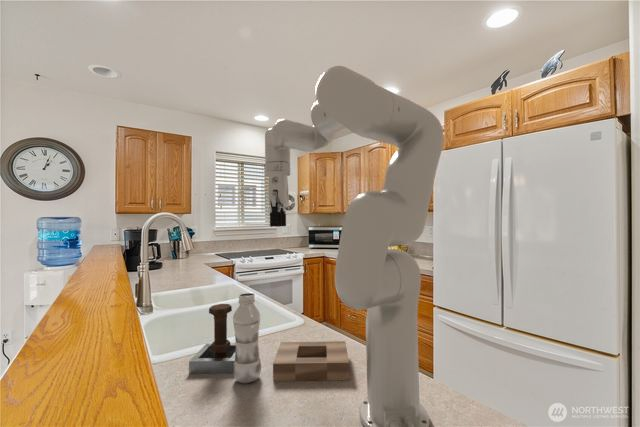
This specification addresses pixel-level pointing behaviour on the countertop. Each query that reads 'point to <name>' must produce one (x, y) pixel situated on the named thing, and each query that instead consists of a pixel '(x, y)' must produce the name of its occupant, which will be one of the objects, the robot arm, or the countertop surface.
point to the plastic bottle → (246, 340)
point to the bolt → (220, 329)
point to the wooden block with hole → (311, 361)
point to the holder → (212, 361)
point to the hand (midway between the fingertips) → (278, 226)
